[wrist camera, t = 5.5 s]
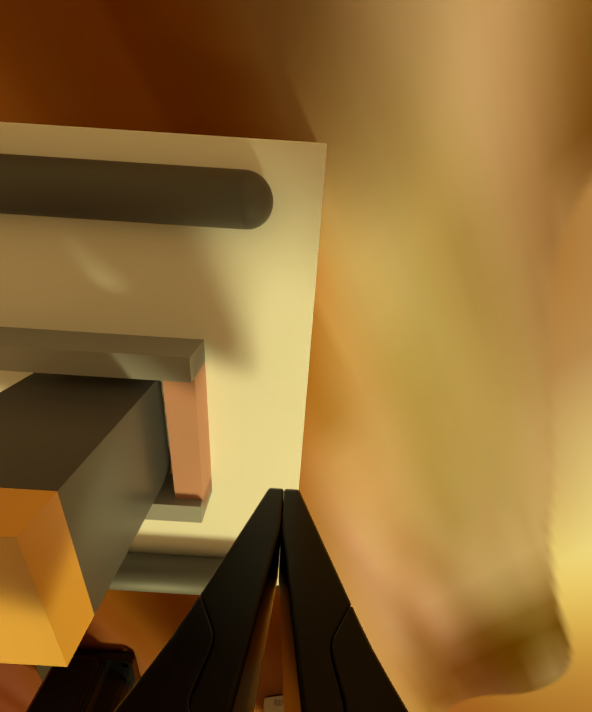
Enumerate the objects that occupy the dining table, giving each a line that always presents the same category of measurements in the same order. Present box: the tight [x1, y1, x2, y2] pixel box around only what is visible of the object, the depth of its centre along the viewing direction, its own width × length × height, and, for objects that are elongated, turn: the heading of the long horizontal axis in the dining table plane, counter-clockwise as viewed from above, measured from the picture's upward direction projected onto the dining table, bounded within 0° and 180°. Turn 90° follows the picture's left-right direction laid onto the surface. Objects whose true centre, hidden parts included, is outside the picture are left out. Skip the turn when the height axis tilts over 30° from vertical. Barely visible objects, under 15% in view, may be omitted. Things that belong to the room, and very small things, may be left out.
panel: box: [0, 122, 327, 595], centre depth 12 cm, size 18×22×4 cm
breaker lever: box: [0, 373, 171, 667], centre depth 9 cm, size 4×4×6 cm
